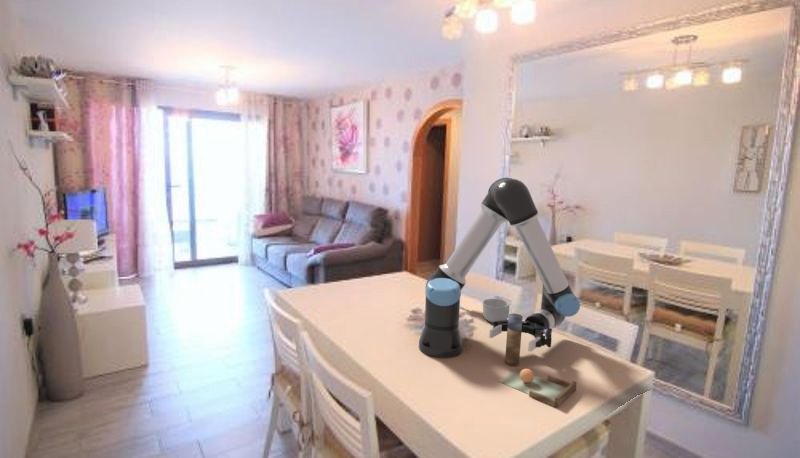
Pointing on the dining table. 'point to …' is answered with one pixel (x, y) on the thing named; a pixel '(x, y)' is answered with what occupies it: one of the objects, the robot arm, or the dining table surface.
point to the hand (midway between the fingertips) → (509, 340)
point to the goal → (542, 388)
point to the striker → (513, 340)
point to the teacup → (495, 309)
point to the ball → (526, 375)
